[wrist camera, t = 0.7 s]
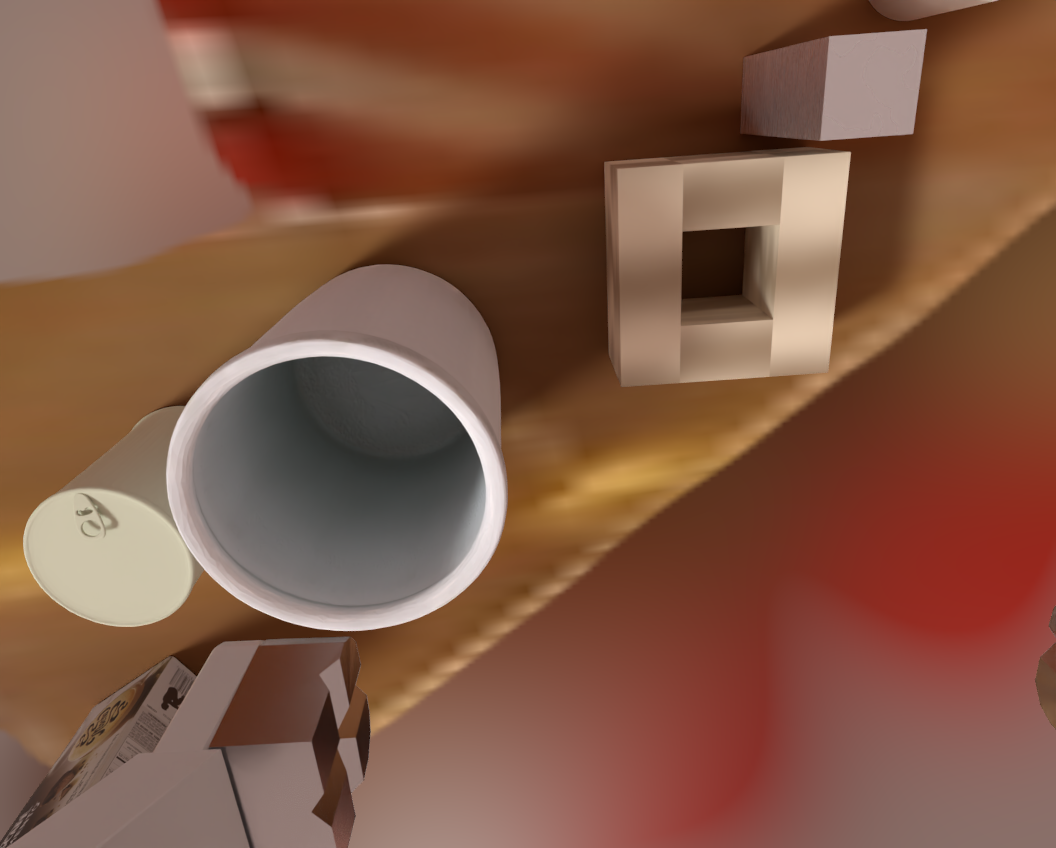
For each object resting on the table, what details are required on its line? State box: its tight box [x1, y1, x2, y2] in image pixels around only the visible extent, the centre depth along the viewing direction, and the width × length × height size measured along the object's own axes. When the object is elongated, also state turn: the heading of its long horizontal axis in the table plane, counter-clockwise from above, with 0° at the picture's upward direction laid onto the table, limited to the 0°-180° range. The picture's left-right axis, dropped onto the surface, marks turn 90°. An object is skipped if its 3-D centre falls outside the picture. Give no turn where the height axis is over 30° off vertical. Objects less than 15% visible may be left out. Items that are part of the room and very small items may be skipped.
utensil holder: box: [166, 264, 508, 631], centre depth 39 cm, size 15×15×18 cm
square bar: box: [740, 29, 927, 141], centre depth 36 cm, size 4×4×12 cm
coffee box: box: [0, 656, 197, 848], centre depth 51 cm, size 9×6×16 cm
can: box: [23, 406, 204, 627], centre depth 45 cm, size 9×9×12 cm
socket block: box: [604, 147, 851, 387], centre depth 42 cm, size 12×12×6 cm
